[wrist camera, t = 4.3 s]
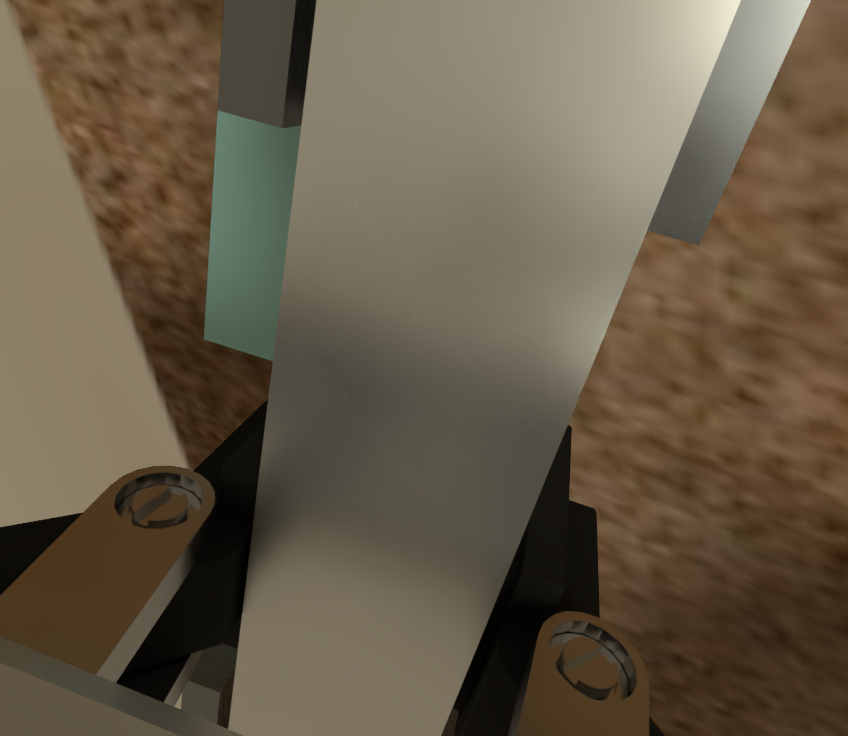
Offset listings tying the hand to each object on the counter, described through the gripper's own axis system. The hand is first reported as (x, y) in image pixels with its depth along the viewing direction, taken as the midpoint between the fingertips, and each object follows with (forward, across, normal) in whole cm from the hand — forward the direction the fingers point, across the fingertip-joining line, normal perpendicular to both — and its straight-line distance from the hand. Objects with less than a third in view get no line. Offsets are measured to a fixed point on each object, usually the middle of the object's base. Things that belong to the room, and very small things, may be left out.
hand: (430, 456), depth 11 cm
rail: (-1, 0, 0) cm, 1 cm away
